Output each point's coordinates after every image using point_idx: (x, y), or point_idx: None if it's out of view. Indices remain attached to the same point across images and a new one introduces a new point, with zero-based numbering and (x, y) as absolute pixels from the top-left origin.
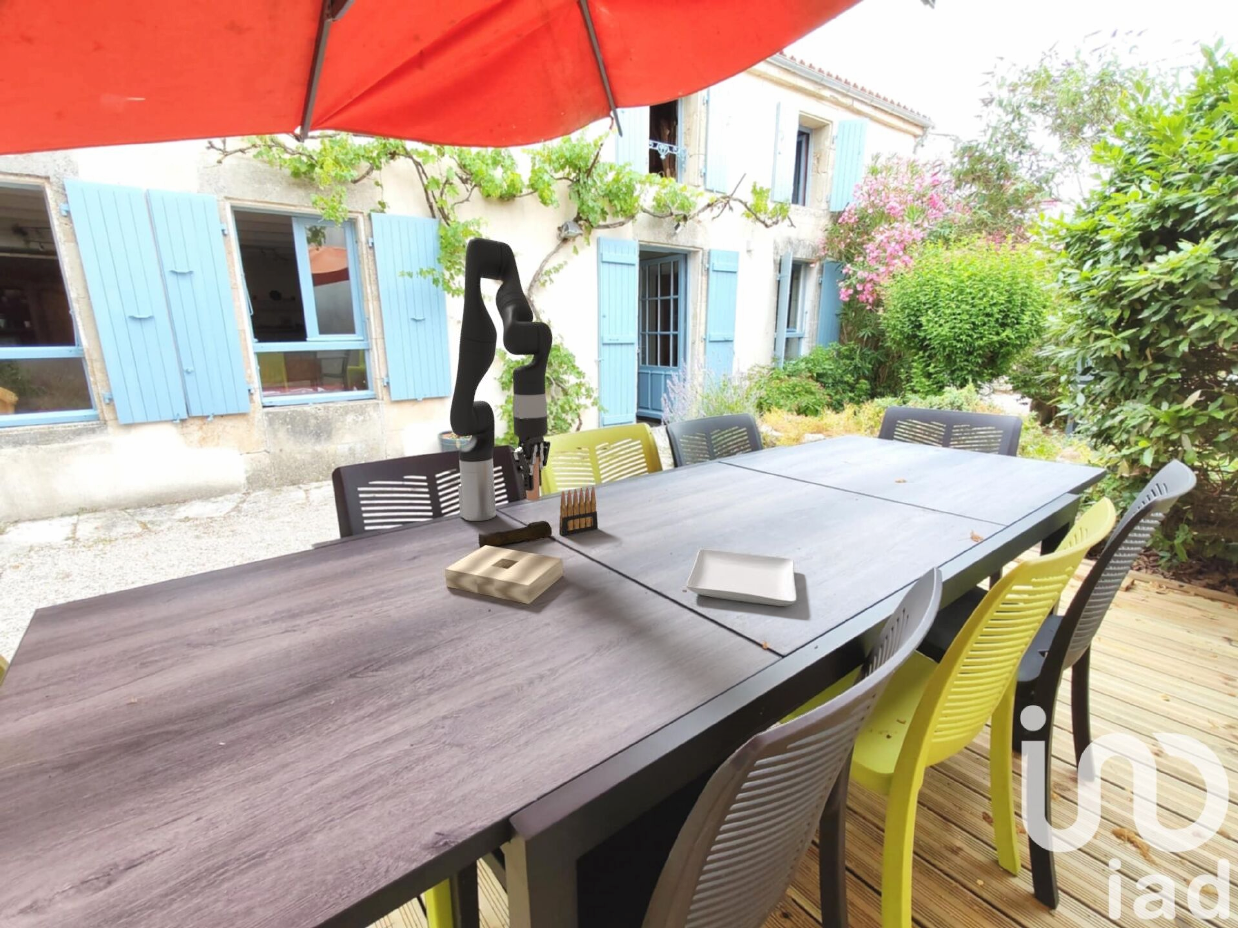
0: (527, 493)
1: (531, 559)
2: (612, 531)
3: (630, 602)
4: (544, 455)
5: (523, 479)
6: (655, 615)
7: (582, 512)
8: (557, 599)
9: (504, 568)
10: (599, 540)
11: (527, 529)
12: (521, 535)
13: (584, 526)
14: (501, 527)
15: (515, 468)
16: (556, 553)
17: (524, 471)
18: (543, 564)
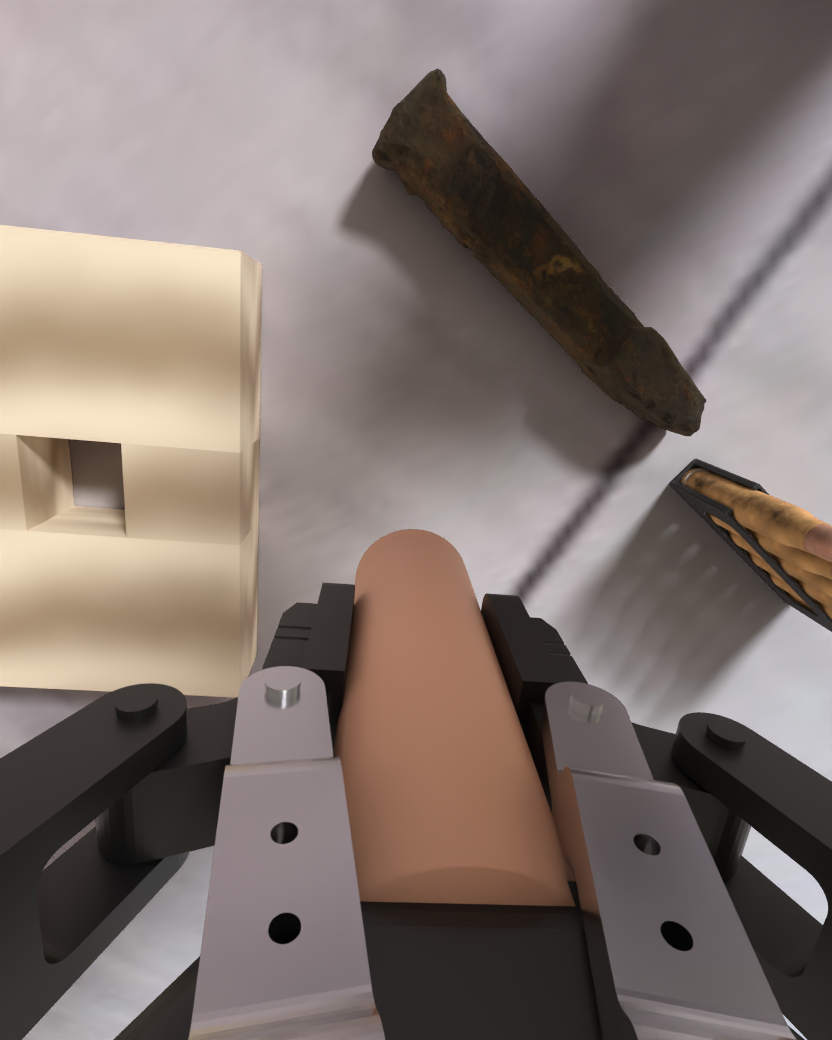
0: (360, 579)
1: (173, 581)
2: (762, 671)
3: (162, 899)
4: (784, 993)
5: (266, 659)
6: (120, 969)
7: (811, 594)
8: (73, 710)
9: (22, 513)
10: (645, 656)
11: (590, 346)
12: (549, 323)
13: (763, 568)
14: (752, 67)
15: (23, 745)
16: (457, 544)
17: (85, 848)
18: (146, 652)
